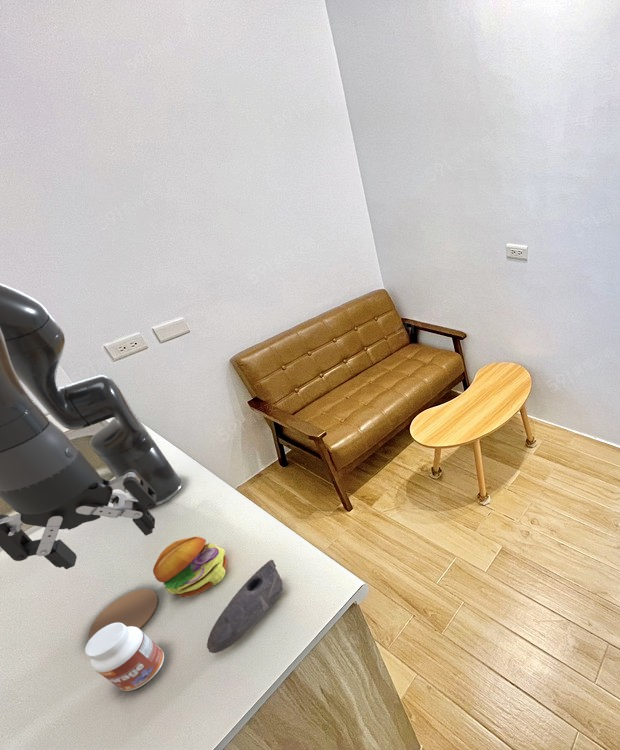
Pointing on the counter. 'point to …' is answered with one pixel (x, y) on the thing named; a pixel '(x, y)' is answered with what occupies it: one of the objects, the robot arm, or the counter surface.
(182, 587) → the cheeseburger
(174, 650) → the counter surface
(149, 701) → the counter surface
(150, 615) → the coaster
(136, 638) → the pill bottle
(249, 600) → the perforated stone tool
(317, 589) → the counter surface
